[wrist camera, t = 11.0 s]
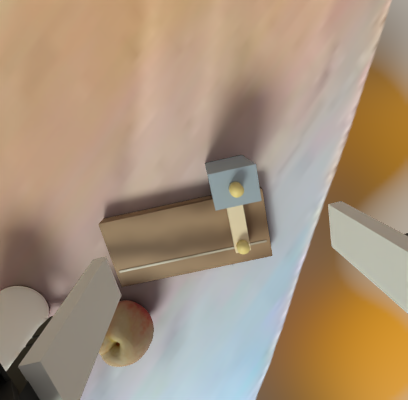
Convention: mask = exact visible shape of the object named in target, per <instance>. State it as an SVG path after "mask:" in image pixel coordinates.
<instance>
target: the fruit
mask: <svg viewBox="0 0 408 400" xmlns="http://www.w3.org/2000/svg"><path fill="white" fill-rule="evenodd" d="M153 332H154V327H153V322H152V319H151V316H150V314H149V313H148V311H147V310H146V309H145V308H144V307H142V306H141V305H139V304H138V303H136V302H133V301H129V300H124V301H120V302H119V303H118V305H117V308H116V310H115V313H114V315H113V318H112V320H111V323H110V325H109V328H108V330H107V333H106V335H105V338H104V340H103V343H102V345H101V348H100V350H99V354H100V355H101V356H102V359H103V360H104V361H105V362H106V363H107V364H108V365H111V366H115V367H122V366H127V365H130V364H133V363H135V362H136V361H138V360H139V359H140V358H141V357H142V356H143V355H144V354H145V352H146V351H147V350H148V348H149V346H150V343H151V341H152V338H153Z"/></svg>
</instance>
